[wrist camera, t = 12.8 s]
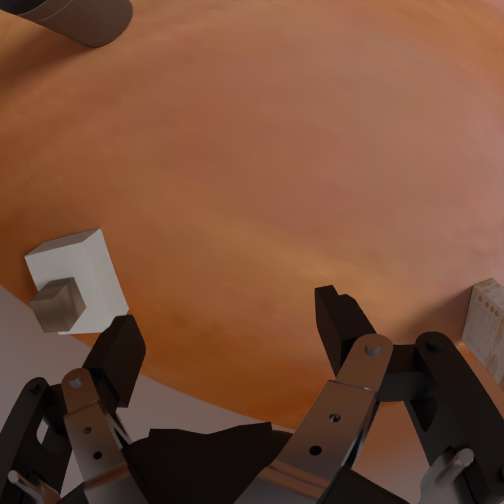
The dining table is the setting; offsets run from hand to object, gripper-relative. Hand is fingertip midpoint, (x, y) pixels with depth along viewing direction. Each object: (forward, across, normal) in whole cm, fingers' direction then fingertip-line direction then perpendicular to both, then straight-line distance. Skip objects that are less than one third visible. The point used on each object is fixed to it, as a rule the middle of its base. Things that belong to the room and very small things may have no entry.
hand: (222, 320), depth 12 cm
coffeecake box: (+28, -48, +31) cm, 64 cm away
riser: (+28, +26, +8) cm, 39 cm away
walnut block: (+22, +26, +8) cm, 35 cm away
